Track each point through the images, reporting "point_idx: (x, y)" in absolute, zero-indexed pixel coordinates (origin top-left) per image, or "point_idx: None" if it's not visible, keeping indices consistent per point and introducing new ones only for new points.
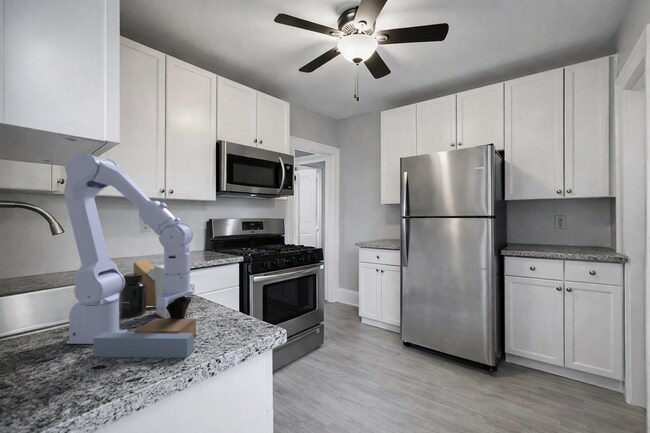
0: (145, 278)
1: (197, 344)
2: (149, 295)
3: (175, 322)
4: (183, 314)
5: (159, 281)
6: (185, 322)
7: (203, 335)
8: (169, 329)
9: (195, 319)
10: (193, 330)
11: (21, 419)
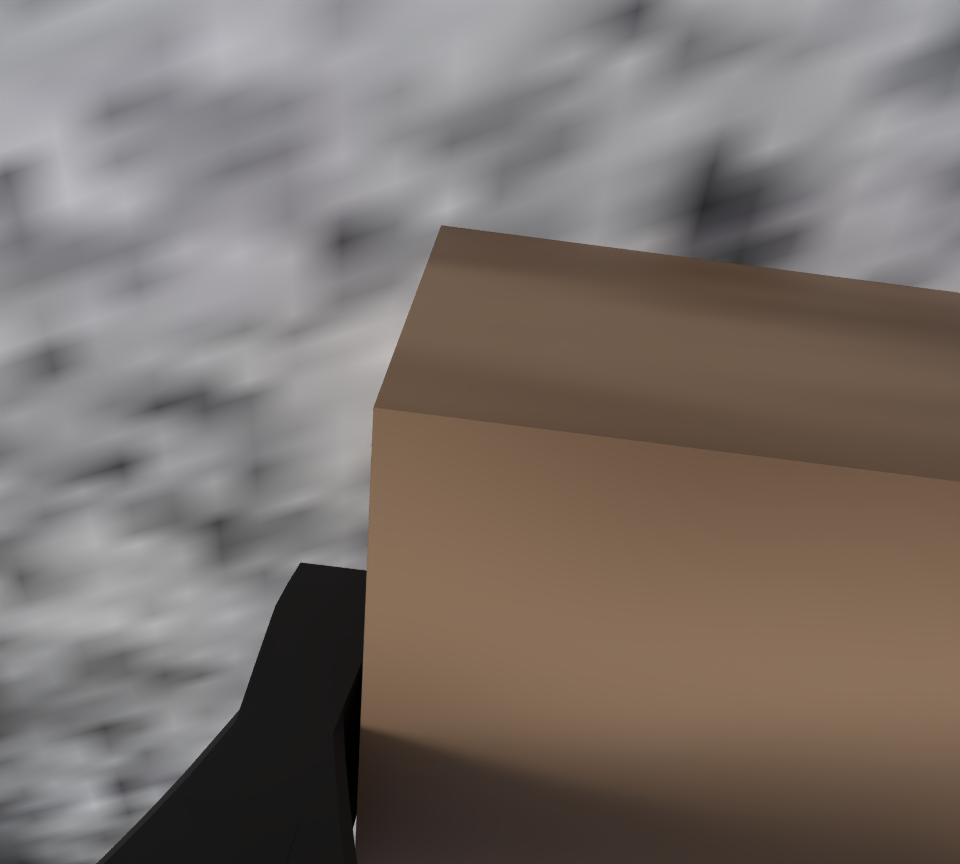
0: None
1: (867, 58)
2: None
3: (635, 778)
4: (308, 813)
5: None
6: (709, 594)
7: (356, 84)
8: None
9: (403, 402)
10: (554, 301)
11: None
